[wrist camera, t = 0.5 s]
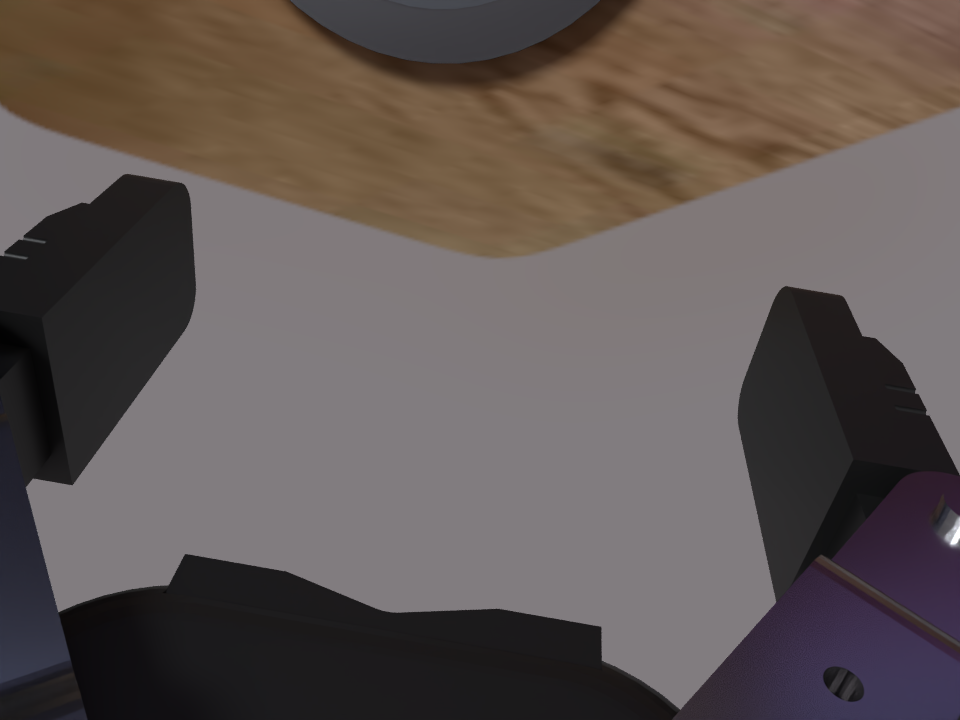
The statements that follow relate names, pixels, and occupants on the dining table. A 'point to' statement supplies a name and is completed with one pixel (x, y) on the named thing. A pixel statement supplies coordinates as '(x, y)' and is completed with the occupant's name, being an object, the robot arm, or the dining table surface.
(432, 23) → the plate
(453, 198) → the dining table surface
